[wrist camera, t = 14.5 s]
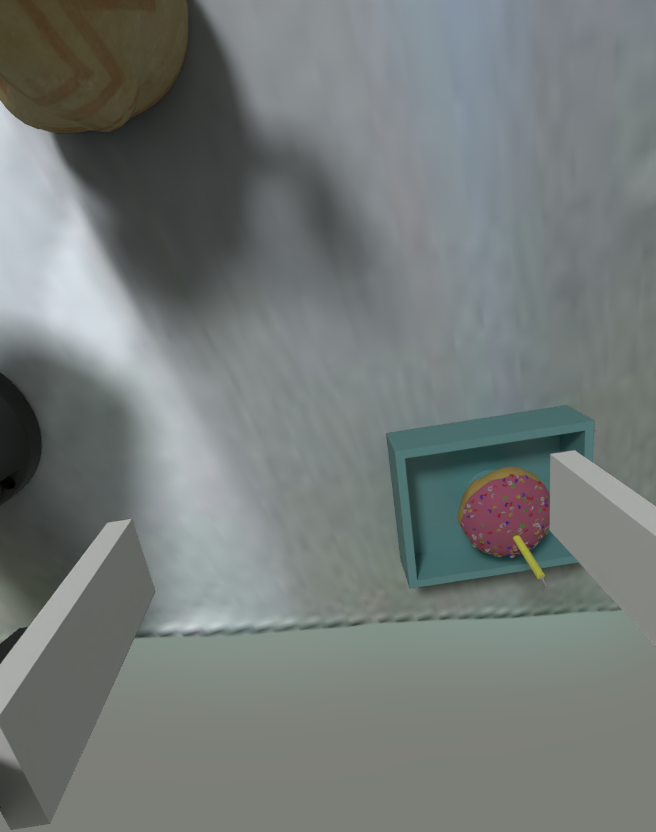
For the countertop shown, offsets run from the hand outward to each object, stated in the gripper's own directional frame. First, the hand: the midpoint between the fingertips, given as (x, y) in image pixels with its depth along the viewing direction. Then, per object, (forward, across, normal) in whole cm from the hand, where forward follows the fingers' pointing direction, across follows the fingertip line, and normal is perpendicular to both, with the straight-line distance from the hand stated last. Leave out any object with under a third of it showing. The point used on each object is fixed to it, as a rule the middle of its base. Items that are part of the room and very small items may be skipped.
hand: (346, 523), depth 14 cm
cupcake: (+28, +15, -16) cm, 36 cm away
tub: (+29, +14, -16) cm, 36 cm away
